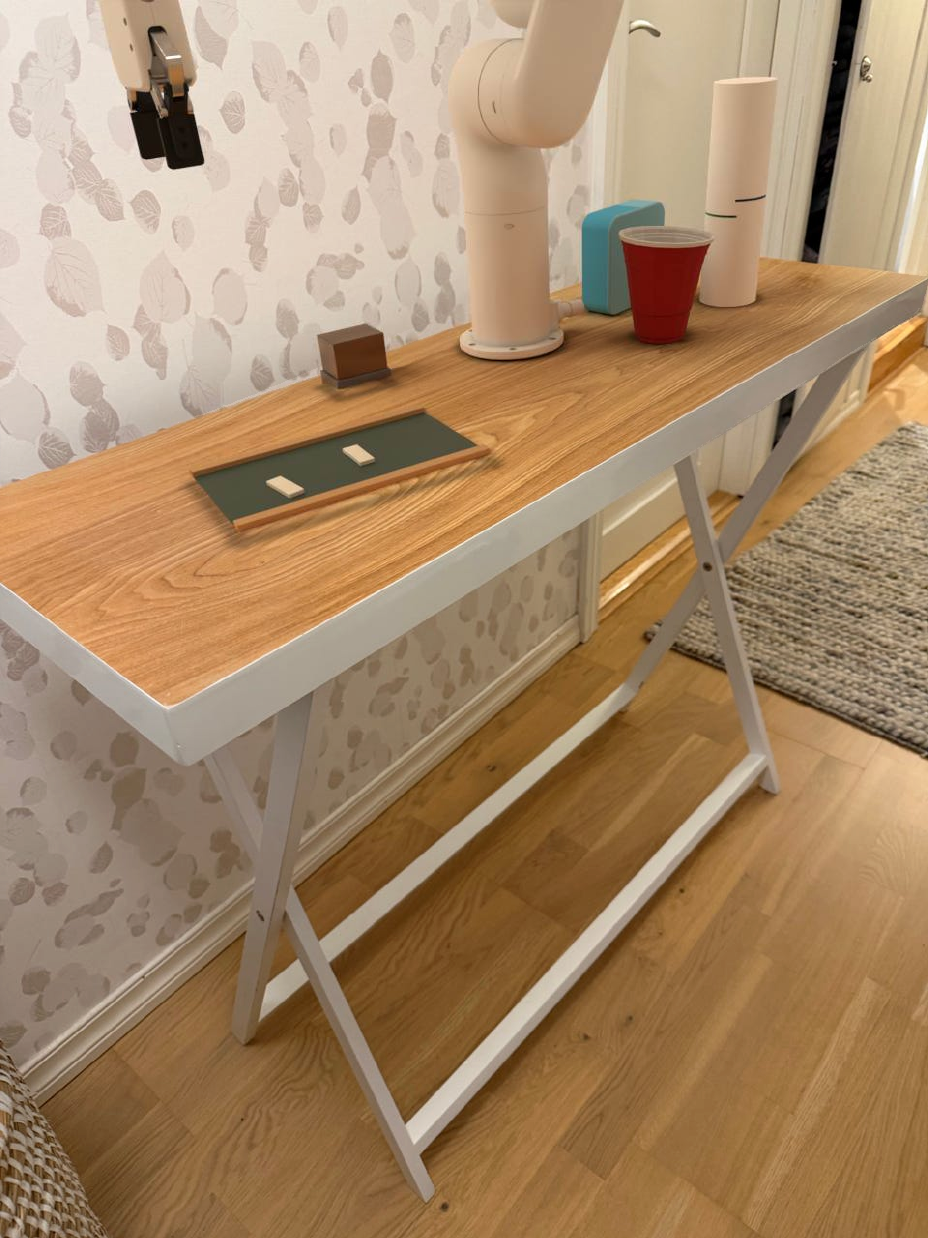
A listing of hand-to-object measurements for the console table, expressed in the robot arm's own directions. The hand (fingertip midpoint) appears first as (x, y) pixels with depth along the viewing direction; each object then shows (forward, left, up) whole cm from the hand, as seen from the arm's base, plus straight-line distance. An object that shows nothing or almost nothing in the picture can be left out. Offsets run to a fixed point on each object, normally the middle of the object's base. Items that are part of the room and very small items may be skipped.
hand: (172, 161), depth 85 cm
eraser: (-15, 0, -25) cm, 29 cm away
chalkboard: (-4, +21, -25) cm, 33 cm away
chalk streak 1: (+2, +23, -24) cm, 33 cm away
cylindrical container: (-67, +4, -25) cm, 72 cm away
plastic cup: (-51, +10, -25) cm, 58 cm away
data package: (-56, -4, -25) cm, 61 cm away
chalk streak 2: (-6, +21, -24) cm, 32 cm away
